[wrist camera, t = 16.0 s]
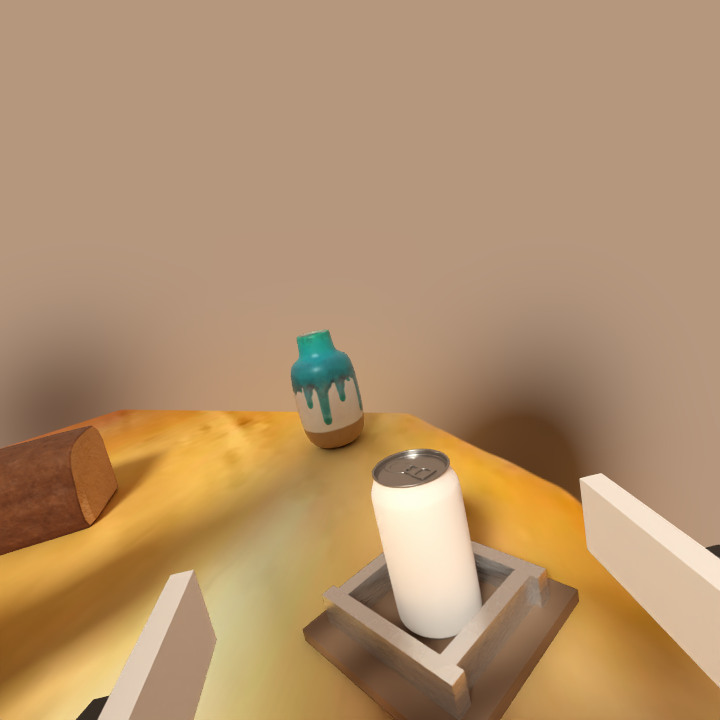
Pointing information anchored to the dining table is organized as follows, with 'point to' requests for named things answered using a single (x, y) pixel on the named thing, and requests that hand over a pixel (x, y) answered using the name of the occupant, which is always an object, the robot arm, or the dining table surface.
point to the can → (426, 542)
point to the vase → (326, 392)
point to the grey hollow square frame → (467, 650)
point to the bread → (52, 487)
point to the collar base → (401, 698)
